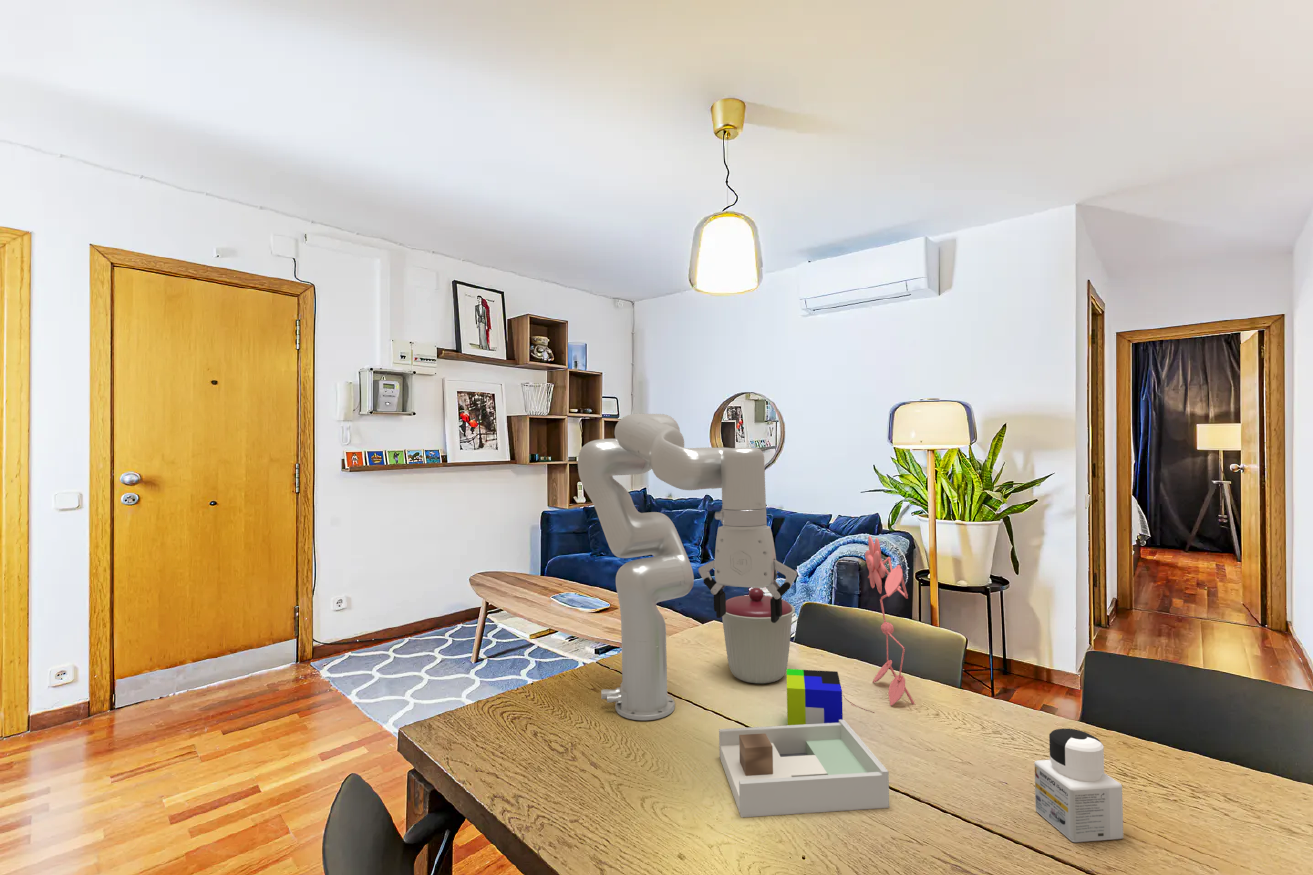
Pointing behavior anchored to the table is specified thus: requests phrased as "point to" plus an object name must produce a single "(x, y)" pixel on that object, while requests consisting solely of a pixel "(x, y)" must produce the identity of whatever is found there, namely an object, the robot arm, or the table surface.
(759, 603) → the canister
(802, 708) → the puzzle toy
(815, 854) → the table surface
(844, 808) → the tray
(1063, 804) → the container
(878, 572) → the figurine
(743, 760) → the walnut block
